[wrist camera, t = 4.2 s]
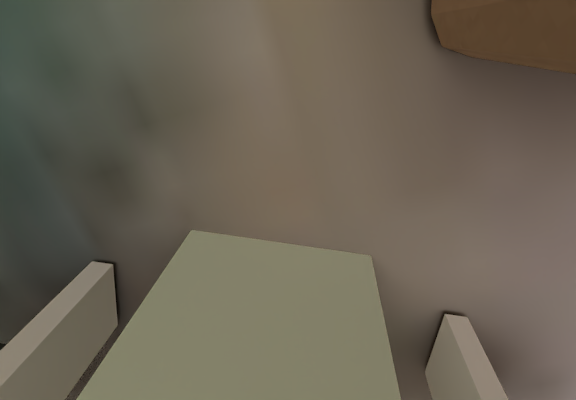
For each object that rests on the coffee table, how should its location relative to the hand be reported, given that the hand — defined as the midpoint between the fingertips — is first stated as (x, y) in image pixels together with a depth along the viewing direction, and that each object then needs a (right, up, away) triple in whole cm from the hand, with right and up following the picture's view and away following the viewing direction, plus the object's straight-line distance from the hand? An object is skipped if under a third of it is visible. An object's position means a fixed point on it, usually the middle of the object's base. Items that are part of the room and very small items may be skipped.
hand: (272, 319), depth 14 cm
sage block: (0, 0, 0) cm, 0 cm away
